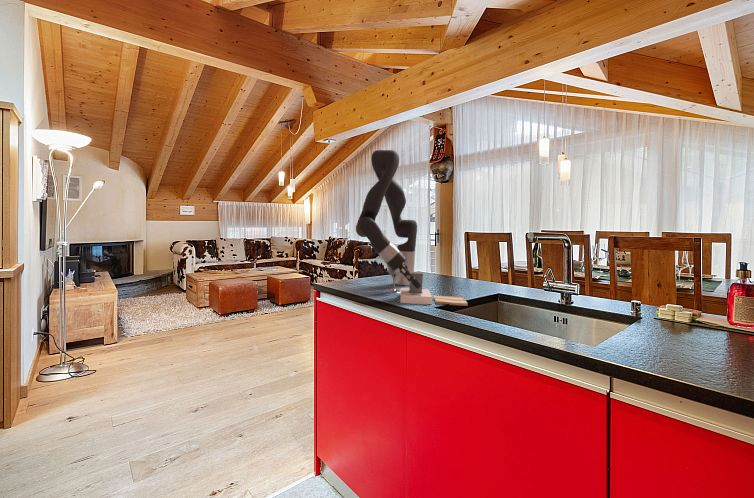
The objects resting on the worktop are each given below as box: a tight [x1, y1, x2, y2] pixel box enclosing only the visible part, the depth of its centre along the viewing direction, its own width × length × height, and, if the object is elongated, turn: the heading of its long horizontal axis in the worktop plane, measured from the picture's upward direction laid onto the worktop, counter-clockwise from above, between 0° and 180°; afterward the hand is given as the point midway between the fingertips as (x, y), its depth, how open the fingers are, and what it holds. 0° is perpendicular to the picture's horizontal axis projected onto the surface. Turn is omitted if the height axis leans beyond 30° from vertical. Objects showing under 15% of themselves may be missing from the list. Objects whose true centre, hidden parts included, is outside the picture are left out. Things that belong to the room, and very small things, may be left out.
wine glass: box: [386, 263, 404, 294], centre depth 169 cm, size 8×8×15 cm
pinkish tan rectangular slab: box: [400, 287, 433, 306], centre depth 153 cm, size 18×12×3 cm, turn 176°
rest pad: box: [433, 295, 469, 307], centre depth 151 cm, size 13×12×1 cm
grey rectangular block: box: [408, 271, 424, 293], centre depth 152 cm, size 4×5×11 cm
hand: (418, 285), depth 152 cm, fingers open, 8 cm apart
